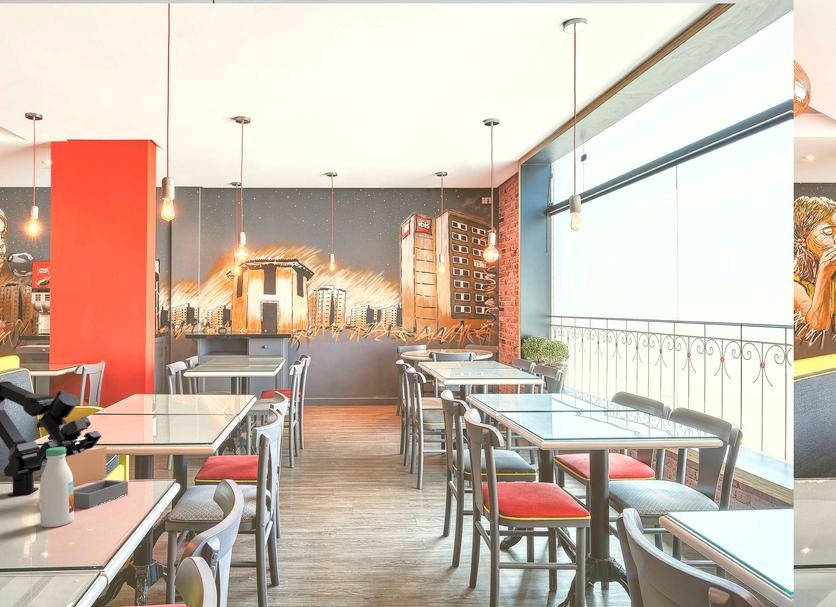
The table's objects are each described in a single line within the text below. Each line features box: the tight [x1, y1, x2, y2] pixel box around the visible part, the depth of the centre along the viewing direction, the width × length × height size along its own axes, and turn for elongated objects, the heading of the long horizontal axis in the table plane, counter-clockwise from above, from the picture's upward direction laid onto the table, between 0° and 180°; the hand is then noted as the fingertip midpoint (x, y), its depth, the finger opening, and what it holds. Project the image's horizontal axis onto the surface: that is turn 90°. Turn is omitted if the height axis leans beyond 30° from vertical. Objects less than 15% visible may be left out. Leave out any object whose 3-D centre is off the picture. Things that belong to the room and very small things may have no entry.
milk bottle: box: [39, 447, 75, 528], centre depth 162 cm, size 8×8×20 cm
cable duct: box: [73, 479, 129, 509], centre depth 182 cm, size 9×14×4 cm, turn 160°
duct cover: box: [65, 446, 107, 489], centre depth 184 cm, size 10×14×1 cm
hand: (84, 465), depth 184 cm, fingers closed, pressing on duct cover
